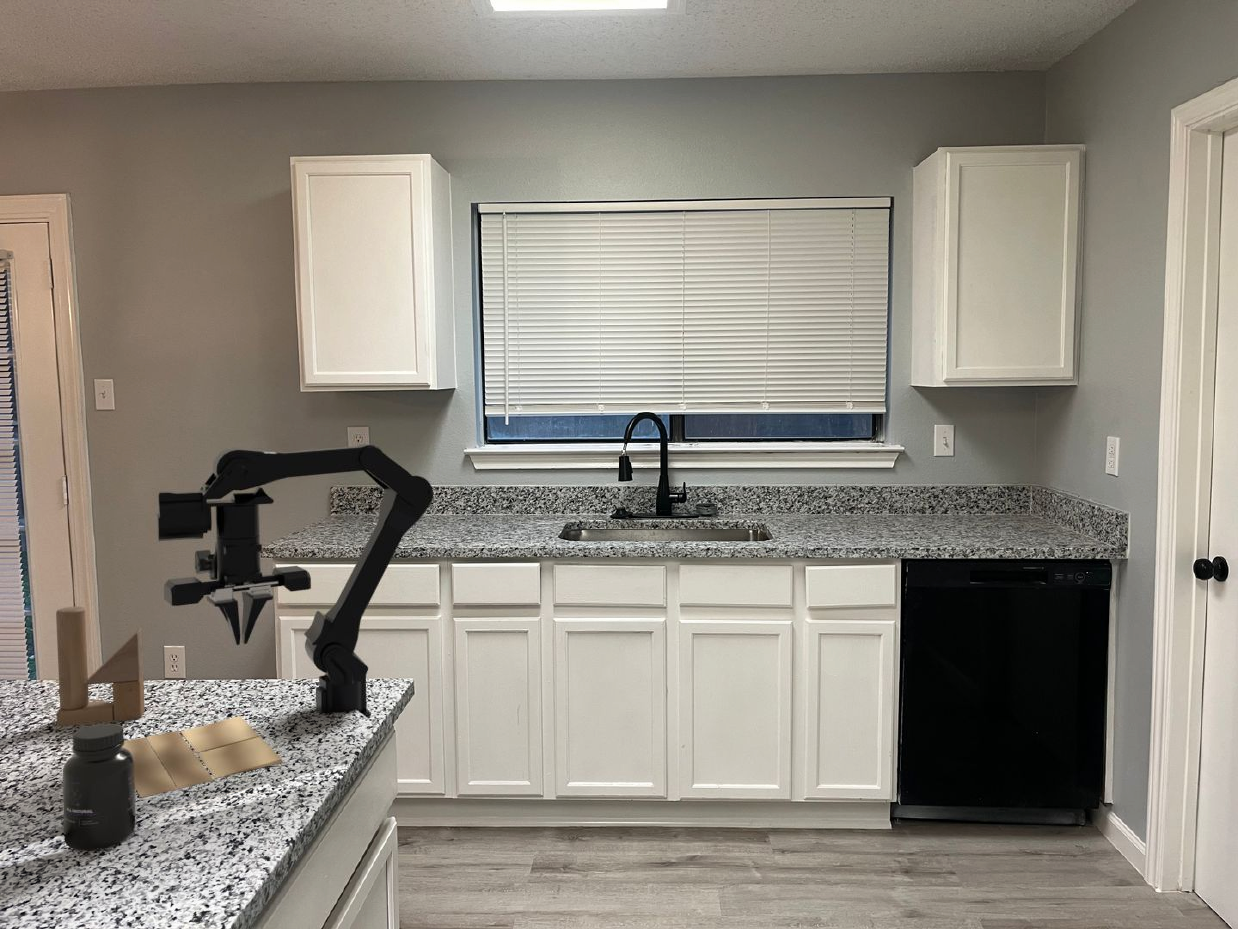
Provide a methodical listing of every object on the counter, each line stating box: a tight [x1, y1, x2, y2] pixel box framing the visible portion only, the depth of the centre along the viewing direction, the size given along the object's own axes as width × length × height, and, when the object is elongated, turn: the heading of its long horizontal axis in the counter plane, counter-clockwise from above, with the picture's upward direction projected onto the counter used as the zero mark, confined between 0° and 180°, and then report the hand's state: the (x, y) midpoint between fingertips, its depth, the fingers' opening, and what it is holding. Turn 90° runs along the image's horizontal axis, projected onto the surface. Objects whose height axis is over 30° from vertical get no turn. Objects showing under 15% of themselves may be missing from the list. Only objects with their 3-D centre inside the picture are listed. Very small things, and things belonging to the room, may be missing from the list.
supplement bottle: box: [62, 723, 136, 851], centre depth 97 cm, size 7×7×12 cm
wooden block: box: [55, 606, 146, 728], centre depth 130 cm, size 4×11×18 cm, turn 110°
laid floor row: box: [122, 730, 215, 799], centre depth 115 cm, size 8×20×2 cm, turn 38°
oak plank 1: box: [180, 715, 260, 754], centre depth 124 cm, size 8×10×2 cm
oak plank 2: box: [197, 736, 283, 779], centre depth 116 cm, size 8×10×2 cm
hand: (241, 644), depth 128 cm, fingers closed
